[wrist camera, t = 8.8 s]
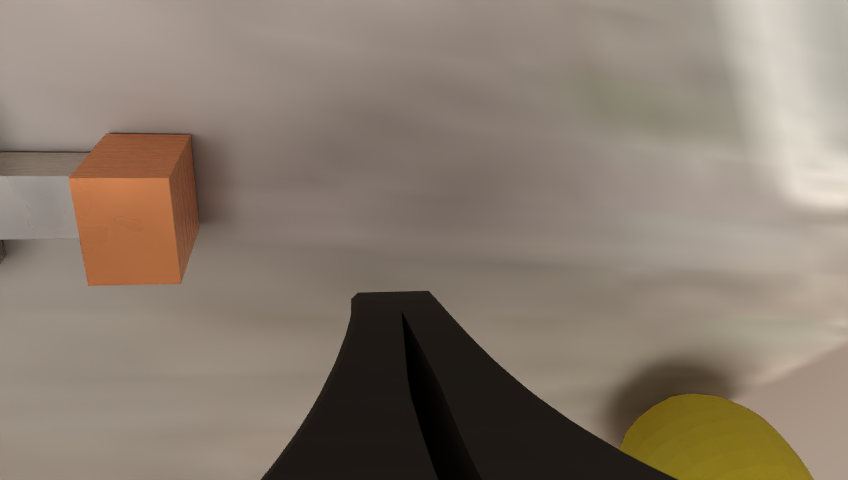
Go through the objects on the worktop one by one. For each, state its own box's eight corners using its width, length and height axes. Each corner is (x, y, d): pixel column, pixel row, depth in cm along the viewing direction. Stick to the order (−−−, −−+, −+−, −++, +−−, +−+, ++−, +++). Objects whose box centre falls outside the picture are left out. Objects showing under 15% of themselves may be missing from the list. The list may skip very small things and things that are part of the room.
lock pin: (199, 227, 18) (180, 283, 16) (-89, 230, 17) (-162, 291, 14) (190, 134, 17) (168, 178, 14) (-120, 131, 16) (-205, 178, 13)
